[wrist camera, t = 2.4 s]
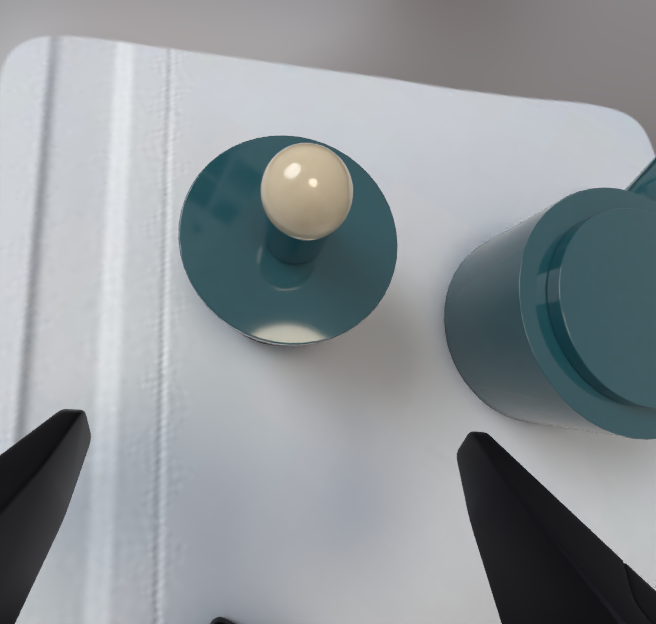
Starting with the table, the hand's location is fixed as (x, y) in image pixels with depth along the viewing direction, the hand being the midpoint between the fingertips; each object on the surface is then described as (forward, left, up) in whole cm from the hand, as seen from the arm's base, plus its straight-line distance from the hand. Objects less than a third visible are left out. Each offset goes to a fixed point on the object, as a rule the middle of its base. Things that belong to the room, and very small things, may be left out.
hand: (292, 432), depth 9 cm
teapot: (+16, -15, -13) cm, 25 cm away
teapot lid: (+6, +3, -6) cm, 10 cm away
